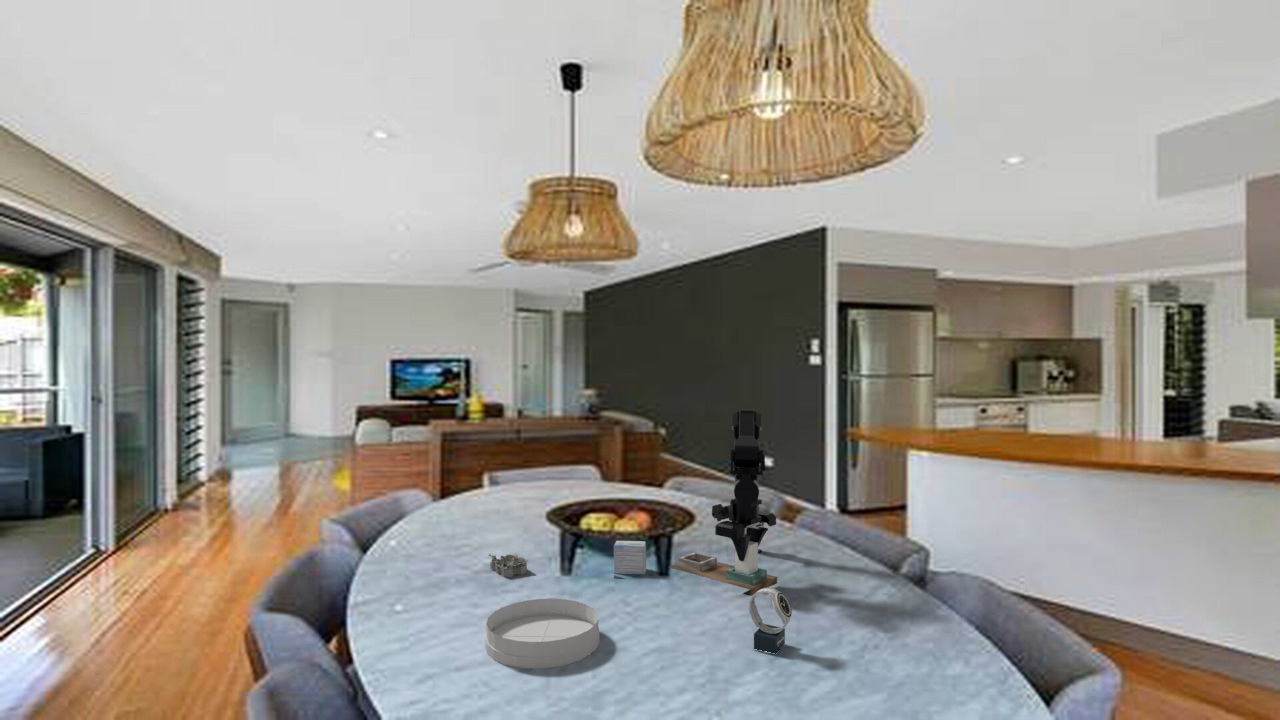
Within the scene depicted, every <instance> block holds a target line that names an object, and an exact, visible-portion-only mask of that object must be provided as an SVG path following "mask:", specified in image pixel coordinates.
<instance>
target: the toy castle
mask: <svg viewBox="0 0 1280 720" xmlns="http://www.w3.org/2000/svg"><path fill="white" fill-rule="evenodd" d="M488 556H489V557H490V558H491V560H490V562H489V567H490V568H489V569H490V571H495V573H496V574H501V577H503V578H505V577H507V578H512V577H514V575H525V574H526V573H527V572H528V565H527V563H528V561H529V560H527V559H525V558H524V557H522V556H520V555H518V553H511V554H506V555H505V556H503V555H501V556H500V557H499V558H497V556H496V555H492V554H491V553H488ZM505 565H506V566H505Z"/></svg>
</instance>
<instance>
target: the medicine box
mask: <svg viewBox="0 0 1280 720" xmlns="http://www.w3.org/2000/svg"><path fill="white" fill-rule="evenodd" d="M646 572H647V542H646V541H641V540H640V541H639V540H616V541H615V543H614V545H613V574H620V575H621V574H623V575H624V574H625V575H627V574H628V575H646ZM613 579H615V580H626V578H624V577H622V576H619V575H613Z"/></svg>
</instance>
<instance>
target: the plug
mask: <svg viewBox="0 0 1280 720" xmlns="http://www.w3.org/2000/svg"><path fill="white" fill-rule="evenodd" d="M758 549H759V547H758V543H757V542H753V541H749V544H748V548H747V552H746V556H745V559H744V561H739V558H738V555H737V552H736V549H735V548H734V566H735V572H739V573H743V574H747V575H750V574H752V573H754V572H757V571H758V568H759V561H758V559H759V553H758Z"/></svg>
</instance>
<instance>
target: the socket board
mask: <svg viewBox="0 0 1280 720" xmlns="http://www.w3.org/2000/svg"><path fill="white" fill-rule="evenodd" d="M717 559H718V558H717V556H712V555H707V554H703V553H700V552H699V553H698V552H692V553H688V554H685V555H684V556H681V557H678V560H677V561H678V563H675V564H672V565H669V566H670V567H669V568H670V569H673V570H677V571H681V572H685V573H688V574H693V575H695V576H698V577H699V576H700V577H704V578H707V579H711V580H714V581H717V582H720V583H721V582H722V583H725V584H728V585H731V586H737V587H740V588H743V589H746V590H747V591H745V592H742V593H743V594H742V595H746V596H749V595H750V596H749V597H752V596H753V595H754V594H755V593H756V592H758V591H759V590H760V589H763V588H767V587H768V588H770V587H772V586H774V585H775V584H778V577H777V576H774V575H770V574H768V571H767V569H764V568H761V567H758V571H757V572H754V573H752V574H750V575H747V574H743V573H739V572H735V565H731V564H728V563H723V562H719V561H718V560H717ZM769 586H770V587H769Z"/></svg>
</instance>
